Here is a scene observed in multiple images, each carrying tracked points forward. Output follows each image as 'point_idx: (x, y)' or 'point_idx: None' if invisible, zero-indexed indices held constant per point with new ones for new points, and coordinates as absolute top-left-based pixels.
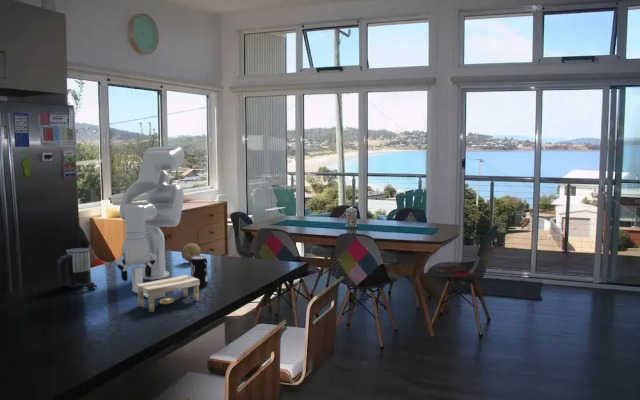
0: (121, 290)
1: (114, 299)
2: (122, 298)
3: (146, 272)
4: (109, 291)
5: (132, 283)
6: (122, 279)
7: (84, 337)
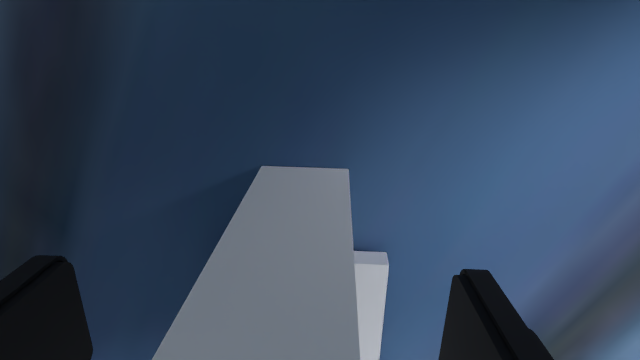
0: (152, 95)
1: None
2: None
3: (473, 357)
4: (16, 29)
5: (243, 203)
6: (38, 258)
7: None
